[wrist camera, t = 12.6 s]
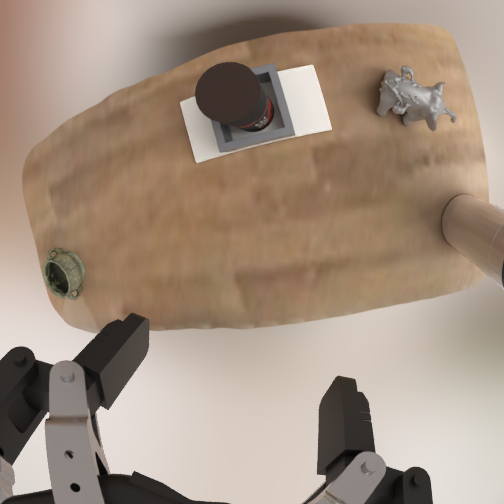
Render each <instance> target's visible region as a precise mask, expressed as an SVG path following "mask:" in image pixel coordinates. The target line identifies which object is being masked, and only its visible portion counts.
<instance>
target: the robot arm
mask: <svg viewBox="0 0 504 504" xmlns="http://www.w3.org/2000/svg"><path fill="white" fill-rule="evenodd" d="M442 231H443V235H444V237H445V239H446V241H447V242H448V243H449V244H450V245H451V246H453V247H454V248H455V249H456V250H458V251H459V252H460V253H461V254H463V255H464V256H465V257H466V258H467V259H469V260H470V261H471V262H472V263H474V264H475V265H476V266H477V267H478V268H480V269H481V270H482V271H483V272H484V273H485V274H487V275H488V276H489V277H490V278H491V279H492V280H493V281H494V282H496V283H497V284H498V285H499V286H500V287H501V288H502V289H503V290H504V209H502V208H500V207H498V206H495V205H492V204H490V203H488V202H486V201H483V200H481V199H478V198H476V197H473V196H471V195H467V194H461V195H458V196H456V197H455V198H453V199H452V200H451V201H450V202H449V203H448V205H447V207H446V208H445V211H444V213H443V218H442ZM148 348H149V319H147V318H145V317H142V316H140V315H137V314H135V313H131V314H129V315H128V317H127V318H126V319H125V320H124V321H121V320H119V319H118V320H115V321H113V322H111V323H109V324H107V325H106V326H105V327H104V328H103V329H102V330H101V332H100V333H98V334H97V335H96V337H95V339H93V340H92V341H91V342H90V343H89V344H88V345H87V346H86V347H85V348H84V349H83V350H82V351H81V352H80V353H79V354H78V355H77V356H76V357H75V358H74V359H73V360H72V361H60V362H58V363H56V364H55V365H52V364H48V363H45V362H42V361H39V360H36V359H35V356H34V353H33V352H32V351H31V350H30V349H29V348H26V347H15V348H13V349H11V350H10V351H9V352H8V353H7V354H6V355H5V356H4V357H3V358H2V359H1V360H0V504H229V503H223V502H222V503H221V502H204V501H194V500H190V499H188V498H186V497H184V496H183V495H181V494H179V493H178V492H176V491H175V490H173V489H171V488H170V487H168V486H167V485H165V484H163V483H161V482H159V481H156V480H154V479H151V478H149V477H147V476H144V475H142V474H140V473H138V472H135V471H134V472H133V474H132V476H130V475H124V474H110V471H109V467H108V464H107V461H106V458H105V455H104V451H103V447H102V442H101V438H100V432H99V426H98V421H97V414H96V411H97V410H98V408H99V407H100V406H102V407H104V408H105V409H107V410H109V408H110V407H111V406H112V404H113V403H114V401H115V400H116V398H117V397H118V395H119V394H120V392H121V391H122V389H123V388H124V386H125V385H126V384H127V382H128V381H129V379H130V378H131V377H132V375H133V374H134V372H135V371H136V369H137V368H138V367H139V365H140V364H141V362H142V361H143V360H144V358H145V356H146V354H147V352H148ZM47 412H50V416H49V419H46V421H45V436H46V449H47V458H48V466H49V474H50V480H51V486H52V489H49V490H44V491H39V492H34V493H28V494H24V495H23V494H22V495H16V496H13V493H12V485H14V483H15V479H14V470H13V468H12V465H13V463H14V462H15V460H16V458H17V457H18V455H19V454H20V452H21V451H22V449H23V447H24V446H25V444H26V443H27V441H28V440H29V438H30V437H31V435H32V434H33V432H34V431H35V429H36V428H37V426H38V425H39V424H40V422H41V421H42V419H43V418H44V416H45V415H46V414H47ZM318 434H319V435H318V461H317V474H319V475H326V481H325V482H324V483H323V484H322V485H321V486H320V487H319V488H318V489H317V490H316V491H315V492H314V493H313V494H311V495H310V496H309V497H308V498H307V499H306V500H305V501H304V502H303V503H302V504H433V501H432V490H431V482H430V477H429V475H428V473H427V472H426V471H425V470H424V469H422V468H420V467H411V468H409V469H408V470H406V471H405V472H403V471H399V470H396V469H392V468H390V467H387V466H386V465H385V462H384V460H383V459H382V458H381V457H380V456H379V455H378V454H376V453H375V445H374V437H373V429H372V423H371V416H370V409H369V403H368V400H367V399H366V397H365V396H364V394H363V393H362V392H357V385H356V380H355V379H352V378H347V377H342V376H337V377H336V378H335V380H334V381H333V382H332V384H331V386H330V387H329V389H328V390H327V392H326V393H325V395H324V396H323V398H322V400H321V403H320V407H319V433H318Z"/></svg>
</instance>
